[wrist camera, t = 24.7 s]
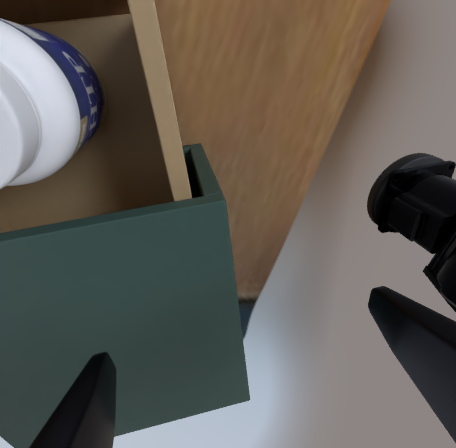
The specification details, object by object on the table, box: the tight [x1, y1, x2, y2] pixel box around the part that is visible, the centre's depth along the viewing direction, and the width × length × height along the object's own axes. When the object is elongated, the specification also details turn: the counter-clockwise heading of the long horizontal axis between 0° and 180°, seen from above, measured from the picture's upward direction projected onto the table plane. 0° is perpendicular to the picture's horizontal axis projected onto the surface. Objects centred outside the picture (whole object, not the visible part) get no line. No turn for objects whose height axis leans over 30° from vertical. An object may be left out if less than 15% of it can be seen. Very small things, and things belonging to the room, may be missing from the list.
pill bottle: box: [0, 19, 106, 189], centre depth 10 cm, size 5×5×9 cm
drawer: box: [0, 0, 192, 233], centre depth 12 cm, size 19×13×7 cm
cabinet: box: [0, 143, 250, 448], centre depth 18 cm, size 16×15×9 cm
